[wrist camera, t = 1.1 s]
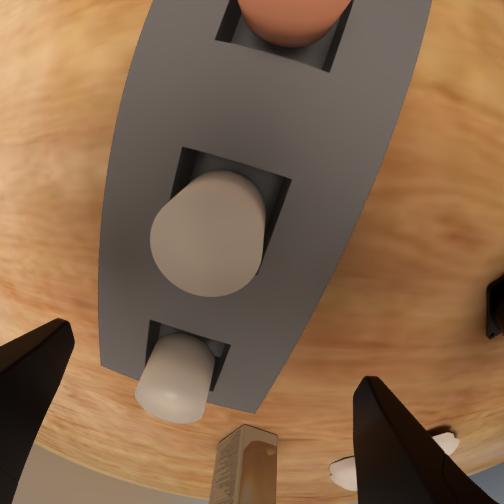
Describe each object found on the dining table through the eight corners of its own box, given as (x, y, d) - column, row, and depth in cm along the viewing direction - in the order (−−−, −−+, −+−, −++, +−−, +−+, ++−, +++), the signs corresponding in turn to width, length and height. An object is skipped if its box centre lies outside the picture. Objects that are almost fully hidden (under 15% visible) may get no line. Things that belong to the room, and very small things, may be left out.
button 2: (208, 382, 19) (197, 429, 16) (152, 365, 19) (134, 409, 15) (221, 344, 18) (210, 396, 14) (158, 324, 17) (135, 372, 14)
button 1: (250, 260, 15) (243, 309, 11) (173, 236, 15) (143, 277, 11) (277, 184, 13) (278, 213, 10) (191, 158, 13) (160, 177, 9)
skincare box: (248, 452, 31) (240, 541, 20) (217, 442, 30) (201, 534, 19) (280, 433, 28) (277, 535, 17) (245, 422, 27) (233, 530, 16)
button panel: (257, 375, 24) (254, 413, 20) (120, 332, 23) (100, 365, 19) (402, 16, 12) (432, -2, 8) (205, -42, 11) (189, -73, 7)
